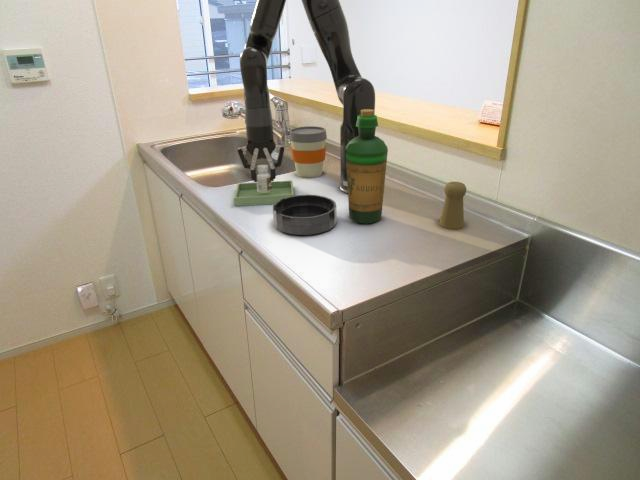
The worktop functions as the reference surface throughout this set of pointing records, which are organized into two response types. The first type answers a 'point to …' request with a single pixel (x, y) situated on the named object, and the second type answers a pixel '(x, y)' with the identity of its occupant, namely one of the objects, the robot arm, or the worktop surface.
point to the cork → (453, 206)
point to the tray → (251, 196)
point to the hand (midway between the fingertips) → (263, 180)
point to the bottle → (366, 170)
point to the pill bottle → (263, 179)
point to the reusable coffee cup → (308, 150)
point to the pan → (304, 214)
